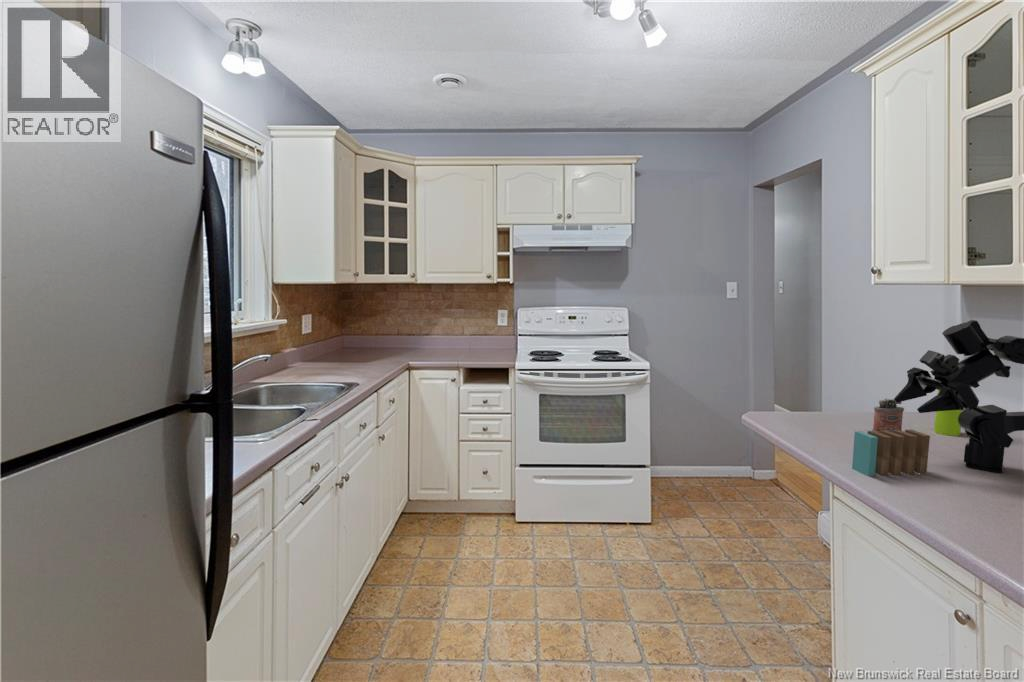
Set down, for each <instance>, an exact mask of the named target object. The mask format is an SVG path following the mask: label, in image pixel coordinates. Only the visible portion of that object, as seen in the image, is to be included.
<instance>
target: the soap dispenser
mask: <svg viewBox="0 0 1024 682" xmlns="http://www.w3.org/2000/svg"><path fill="white" fill-rule="evenodd" d="M939 392H940V390H937V394H936V395H938V394H939ZM962 411H963V410H949V411H936V412H935V416H934V417H935V418H934V425H933V426H934V428H933V432H934V433H936V434H938V435H939V434H940V435H944V436H950V437H951V436H952V437H958V436H960V435H961V430H962V427H961V426H960V425H959V423H958V417H959V415H960V413H961V412H962Z"/></svg>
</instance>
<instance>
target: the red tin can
mask: <svg viewBox="0 0 1024 682" xmlns="http://www.w3.org/2000/svg"><path fill="white" fill-rule="evenodd" d="M902 402H903V401H902ZM902 402H896V401H895V400H894V398H893V399H891V398H886V397H885V398H884V399H879V400H878V405H879V406H874V407H873V410H874V416H873V428H872V430H871V431H876V432H879V433H880V431H881V430H887V431H890V432H893V430H901V431H903V430H902V426H903V414H904V411H905V408H904V407H901V406H898V405H902Z"/></svg>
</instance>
